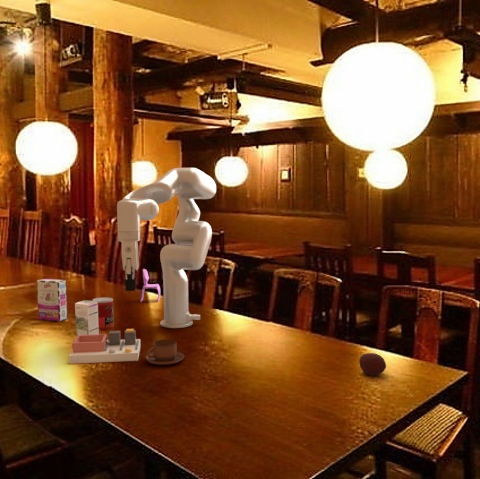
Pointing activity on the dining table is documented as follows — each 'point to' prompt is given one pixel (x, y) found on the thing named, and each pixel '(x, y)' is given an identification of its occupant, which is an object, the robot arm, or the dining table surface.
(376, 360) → the potato
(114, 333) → the block
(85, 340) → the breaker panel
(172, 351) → the cup and saucer
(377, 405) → the dining table surface
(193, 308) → the dining table surface
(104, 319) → the canned food
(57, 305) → the candy bar box
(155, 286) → the toy chair
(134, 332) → the tagged breaker
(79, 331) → the syrup box
